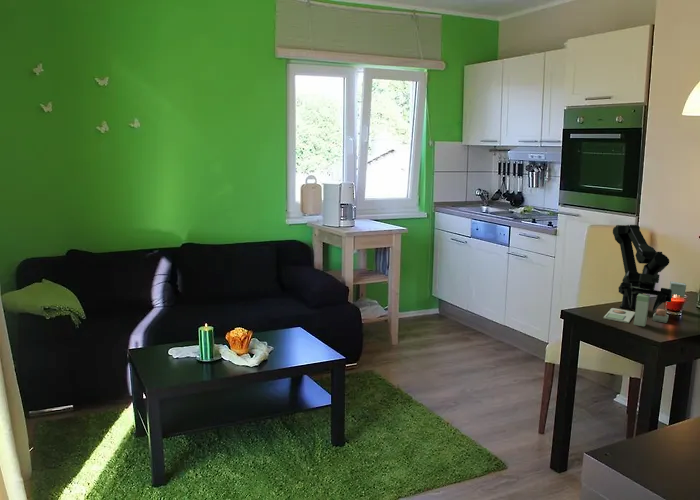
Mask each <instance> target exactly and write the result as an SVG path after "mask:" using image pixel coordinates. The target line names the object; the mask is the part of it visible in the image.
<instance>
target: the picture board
mask: <svg viewBox="0 0 700 500" xmlns="http://www.w3.org/2000/svg"><path fill="white" fill-rule="evenodd" d="M634 317H635V311H634V310H633V311H631V310H628V309H622V308H614V307H611V308H610V309H609V310H608V312H607V313H606V314H605V315H604V316H603V317H602V318H603V320H609V321H615V322H618V323H619V322H620V323H625V324H629V323H630V321H631V320H632V319H633V318H634Z"/></svg>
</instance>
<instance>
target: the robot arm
mask: <svg viewBox="0 0 700 500" xmlns="http://www.w3.org/2000/svg"><path fill="white" fill-rule="evenodd" d="M612 235H613V237H614V240H615V241H616V242H617V244H619V246H620V248H619V249H620V252H621V258H622V264H623V269H624V275H623V278H622V282H621V283H620V285H619V286H618V293H620V294H621V295H622V297H621V298H622V301H621V303H620V305H619V309H625V310H633V311H635V310H636V302H637V295H638V294H645V295H650V296H651V295H652V296H656V299H655V301H654V304H653V306H652V312H653V313H655V311H657V309H658V307H659V306H661V305H662V304H663V303H664V304H665V303H666V304H667V302H671V298H672V290H671V289H669V288H667V287H660V290H657V289H656V284H658V283H659V281H660V274H659V273H662V272H663V270H665V268H667V266H669V264H670V259H669V257H668V256H667V255H666V254H663V251H657V250H656V249H655V248H654V247H653V246H651V245H649V244H648V243H647V240H646V239H645V237H644V234H642V232H641V229H640V226H639V225H638V224H616V225H615V226H614V227H613V228H612ZM634 248H635V251H636V253H635V252H634ZM636 261H637V263H638V264H643V268H642V272H639V271H638V268H637V263H636Z"/></svg>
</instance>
